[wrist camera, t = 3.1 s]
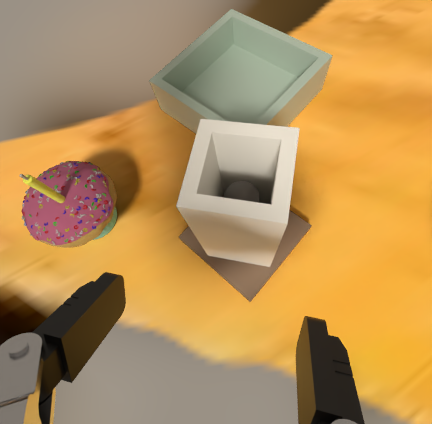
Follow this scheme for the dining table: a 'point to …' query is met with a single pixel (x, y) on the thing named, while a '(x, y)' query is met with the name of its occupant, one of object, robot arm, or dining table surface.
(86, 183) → the cupcake
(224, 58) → the tray
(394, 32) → the dining table surface
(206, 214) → the sleeve
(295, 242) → the base
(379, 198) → the dining table surface
